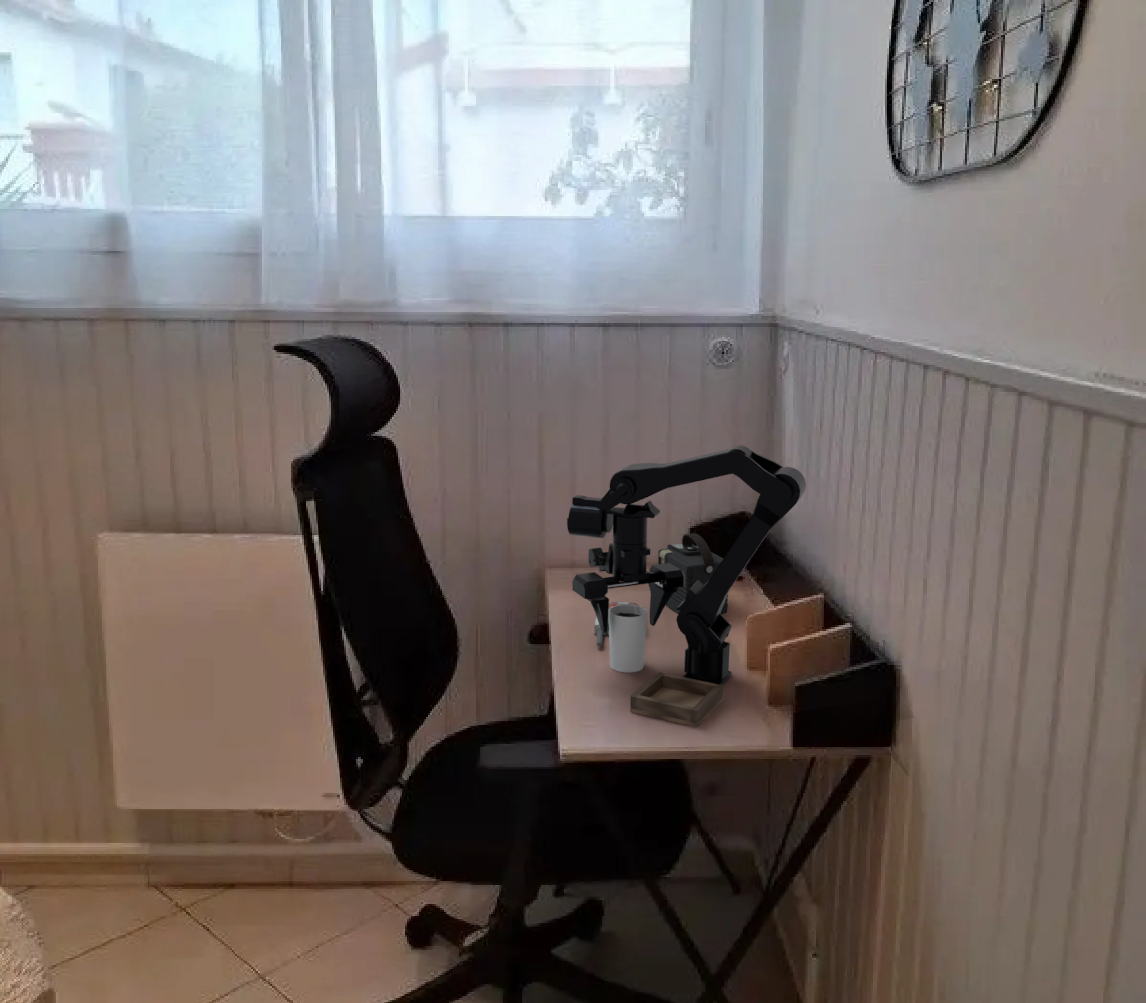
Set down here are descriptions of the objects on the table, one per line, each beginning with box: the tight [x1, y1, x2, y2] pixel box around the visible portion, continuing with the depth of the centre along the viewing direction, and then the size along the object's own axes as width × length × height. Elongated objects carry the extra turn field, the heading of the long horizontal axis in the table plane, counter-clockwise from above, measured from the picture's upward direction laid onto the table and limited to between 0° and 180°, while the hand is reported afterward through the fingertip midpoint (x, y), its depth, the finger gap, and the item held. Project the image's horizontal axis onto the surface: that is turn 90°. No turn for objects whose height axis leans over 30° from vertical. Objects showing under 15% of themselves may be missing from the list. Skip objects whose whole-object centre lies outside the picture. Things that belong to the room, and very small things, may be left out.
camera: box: [657, 533, 729, 615], centre depth 210 cm, size 11×14×15 cm
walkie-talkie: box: [593, 601, 640, 648], centre depth 197 cm, size 9×4×20 cm
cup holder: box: [629, 671, 724, 728], centre depth 164 cm, size 11×11×3 cm
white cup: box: [608, 605, 648, 674], centre depth 179 cm, size 7×7×10 cm
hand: (628, 628), depth 179 cm, fingers open, 9 cm apart
